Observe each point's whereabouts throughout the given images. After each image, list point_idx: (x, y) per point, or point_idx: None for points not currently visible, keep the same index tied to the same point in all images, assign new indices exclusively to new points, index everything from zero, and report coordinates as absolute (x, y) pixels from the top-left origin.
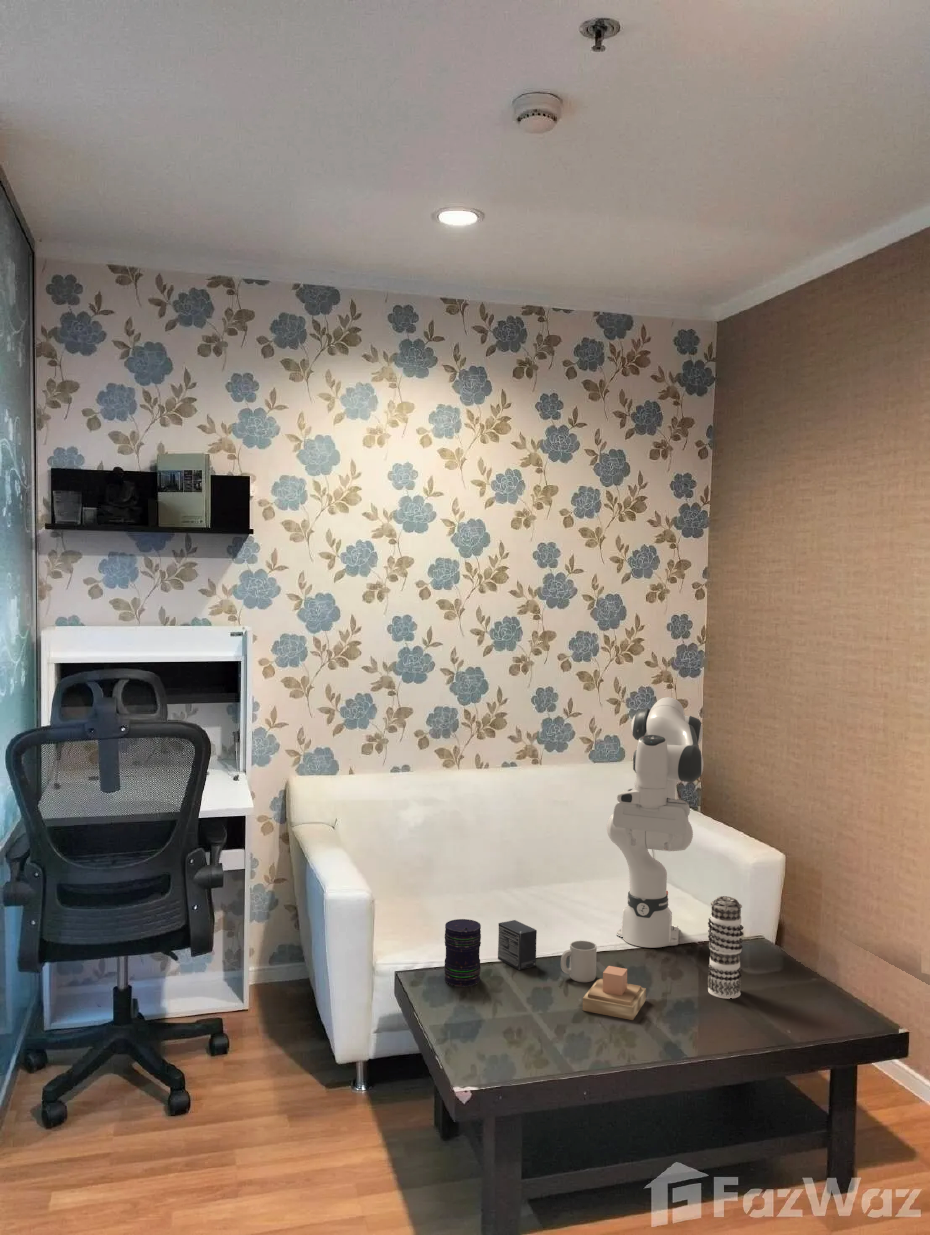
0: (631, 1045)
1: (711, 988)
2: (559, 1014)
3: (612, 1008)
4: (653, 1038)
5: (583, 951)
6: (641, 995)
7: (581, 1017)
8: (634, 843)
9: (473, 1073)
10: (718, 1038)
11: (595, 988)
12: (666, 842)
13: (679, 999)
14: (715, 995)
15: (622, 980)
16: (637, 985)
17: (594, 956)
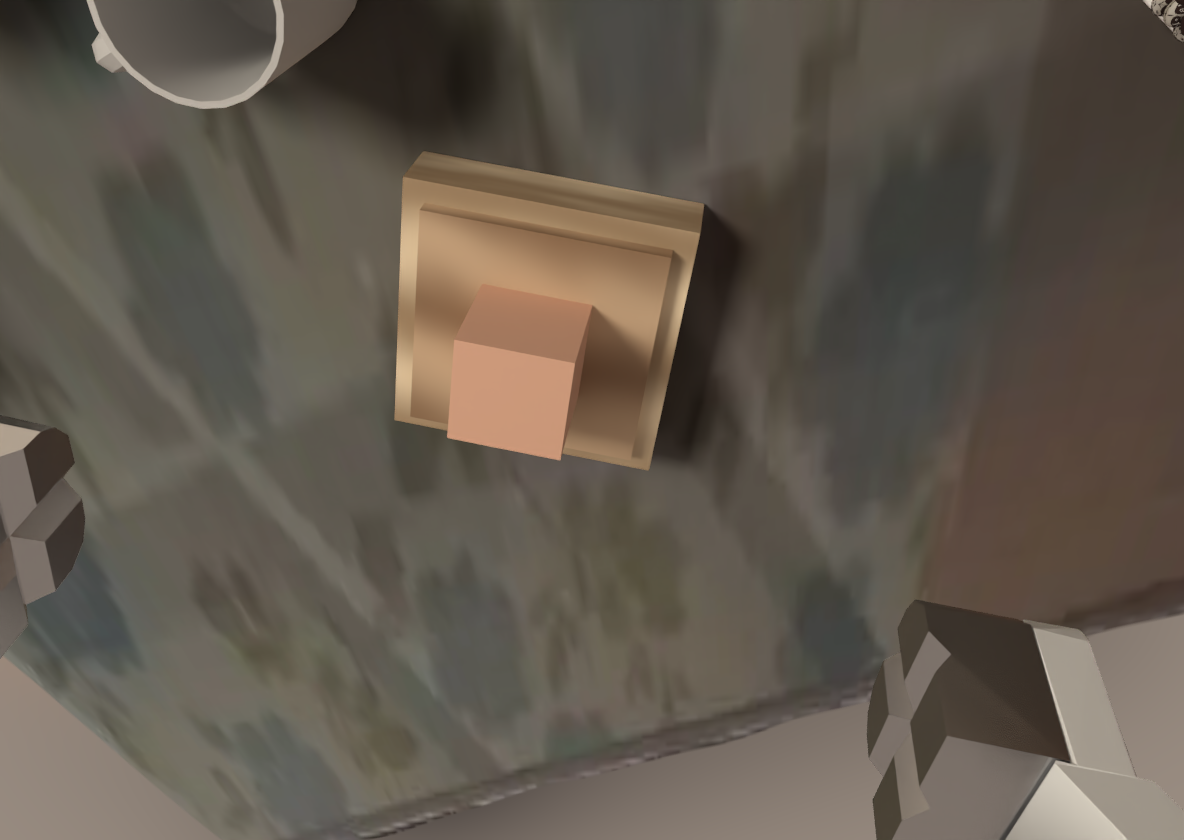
0: (668, 620)
1: (1155, 14)
2: (330, 439)
3: None
4: (753, 562)
5: (225, 104)
6: (679, 327)
7: (427, 448)
8: (44, 591)
9: (240, 804)
10: (1050, 520)
11: (428, 346)
12: (971, 787)
13: (907, 135)
14: (1168, 27)
15: (566, 434)
16: (648, 255)
17: (304, 33)
